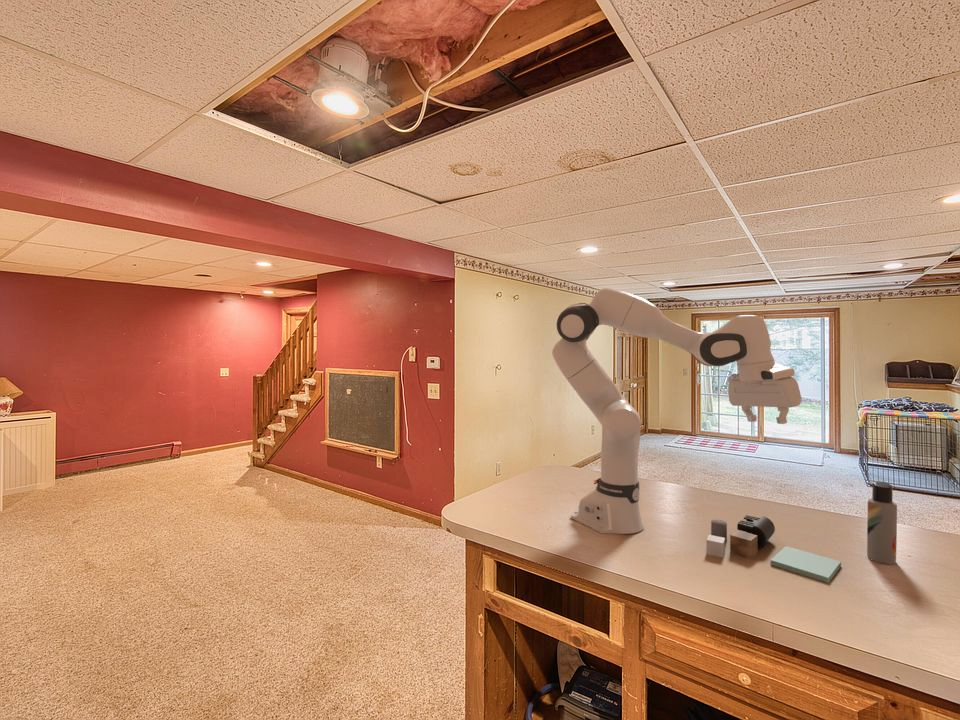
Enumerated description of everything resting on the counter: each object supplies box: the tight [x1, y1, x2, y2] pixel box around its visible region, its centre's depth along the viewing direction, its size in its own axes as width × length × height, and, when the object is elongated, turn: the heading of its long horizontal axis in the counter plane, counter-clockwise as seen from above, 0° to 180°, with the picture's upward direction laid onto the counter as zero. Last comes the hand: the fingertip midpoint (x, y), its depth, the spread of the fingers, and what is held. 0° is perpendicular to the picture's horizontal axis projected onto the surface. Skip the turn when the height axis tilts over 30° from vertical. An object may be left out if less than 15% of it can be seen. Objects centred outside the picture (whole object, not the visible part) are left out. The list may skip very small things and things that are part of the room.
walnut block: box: [729, 529, 758, 560], centre depth 123 cm, size 5×5×5 cm
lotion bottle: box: [866, 481, 898, 565], centre depth 118 cm, size 6×6×20 cm
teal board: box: [770, 545, 842, 583], centre depth 116 cm, size 12×12×1 cm
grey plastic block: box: [705, 534, 726, 559], centre depth 123 cm, size 4×4×4 cm
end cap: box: [736, 514, 776, 550], centre depth 129 cm, size 10×7×7 cm
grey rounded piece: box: [710, 519, 728, 543], centre depth 132 cm, size 4×4×5 cm
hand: (766, 422), depth 125 cm, fingers open, 8 cm apart
